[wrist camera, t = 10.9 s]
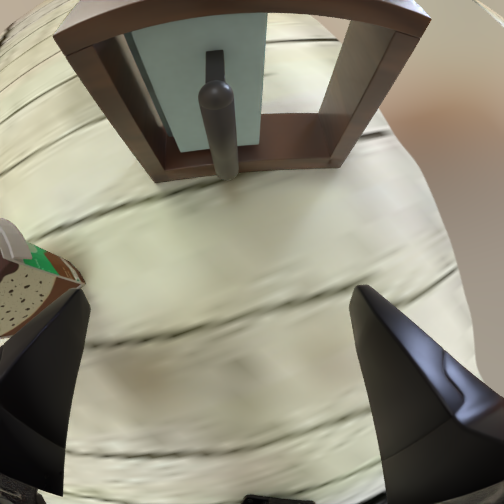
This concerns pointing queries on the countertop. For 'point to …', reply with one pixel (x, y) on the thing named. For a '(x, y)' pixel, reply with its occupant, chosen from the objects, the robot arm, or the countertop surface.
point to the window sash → (209, 81)
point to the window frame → (271, 125)
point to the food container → (29, 279)
